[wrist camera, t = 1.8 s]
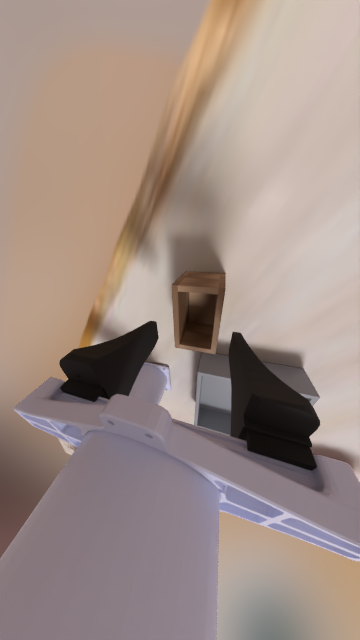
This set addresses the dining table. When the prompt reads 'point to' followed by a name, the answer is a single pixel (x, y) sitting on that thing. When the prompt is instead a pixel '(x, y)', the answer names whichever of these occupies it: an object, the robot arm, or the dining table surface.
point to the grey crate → (217, 390)
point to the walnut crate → (198, 310)
